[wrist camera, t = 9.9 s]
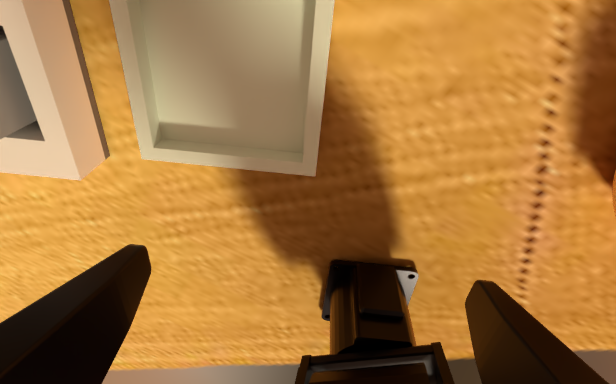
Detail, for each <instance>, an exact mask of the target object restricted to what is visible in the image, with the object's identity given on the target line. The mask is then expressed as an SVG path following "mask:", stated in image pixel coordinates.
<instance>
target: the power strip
mask: <svg viewBox="0 0 616 384" xmlns="http://www.w3.org/2000/svg"><path fill="white" fill-rule="evenodd" d="M0 29H3V30H4V31H5V34H6V37H7V39H8V42H9V45H10V48H11V50H12V53H13V56H14V58H15V61H16V64H17V66H18V69H19V72H20V75H21V77H22V80H23V83H24V85H25V88H26V91H27V94H28V96H29V99H30V102H31V104H32V107H33V110H34V113H35V115H36V118H37V121H35V122H33V123H31V124H29V125H27V126H25V127H23V128H21V129H19V130H17V131H15V132H14V133H12V134H10V135H8V136H6V137H4V138H2V139H0V172H3V173H13V174H23V175H33V176H43V177H52V178H62V179H72V180H82V179H83V178H84V177H85V176H87V175H88V174H89V173H90V172H91V171H93V170H94V169H95V168H96V167H97V166H98V165H100V164H101V163H102V162H103V161H104V160H105V159H107V158H108V157H109V156H110V154H109V150H108V147H107V143H106V139H105V135H104V131H103V128H102V124H101V120H100V116H99V112H98V109H97V105H96V101H95V97H94V93H93V90H92V86H91V82H90V78H89V74H88V70H87V67H86V63H85V59H84V55H83V51H82V48H81V44H80V40H79V36H78V32H77V29H76V25H75V21H74V17H73V13H72V10H71V6H70V2H69V0H0Z"/></svg>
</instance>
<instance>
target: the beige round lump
mask: <svg viewBox="0 0 616 384" xmlns="http://www.w3.org/2000/svg"><path fill="white" fill-rule="evenodd" d="M612 195H613V206H614V211H615V216H616V171H615V175H614V180H613V191H612Z"/></svg>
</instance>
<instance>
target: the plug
mask: <svg viewBox="0 0 616 384" xmlns="http://www.w3.org/2000/svg"><path fill="white" fill-rule="evenodd" d="M35 121H37V118H36V115H35V113H34V110H33V107H32V104H31V102H30V99H29V96H28V94H27V91H26V88H25V85H24V83H23V80H22V77H21V75H20V72H19V69H18V66H17V64H16V61H15V58H14V56H13V53H12V50H11V48H10V45H9V42H8V39H7V37H6V34H5V31H4V30H3V29H0V139H2V138H4V137H6V136H8V135H10V134H12V133H14V132H15V131H17V130H19V129H21V128H23V127H25V126H27V125H29V124H31V123H33V122H35Z"/></svg>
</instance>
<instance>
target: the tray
mask: <svg viewBox="0 0 616 384" xmlns="http://www.w3.org/2000/svg"><path fill="white" fill-rule="evenodd" d="M334 1H335V0H109V3H110V8H111V13H112V18H113V23H114V27H115V32H116V37H117V42H118V47H119V51H120V56H121V61H122V66H123V71H124V76H125V80H126V85H127V90H128V95H129V100H130V105H131V109H132V114H133V119H134V124H135V129H136V134H137V138H138V143H139V148H140V153H141V158H142V159H146V160H156V161H166V162H176V163H186V164H196V165H206V166H216V167H225V168H235V169H245V170H255V171H265V172H275V173H285V174H295V175H305V176H316V167H317V158H318V148H319V139H320V130H321V121H322V112H323V102H324V93H325V84H326V75H327V66H328V56H329V47H330V38H331V29H332V20H333V11H334Z"/></svg>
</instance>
